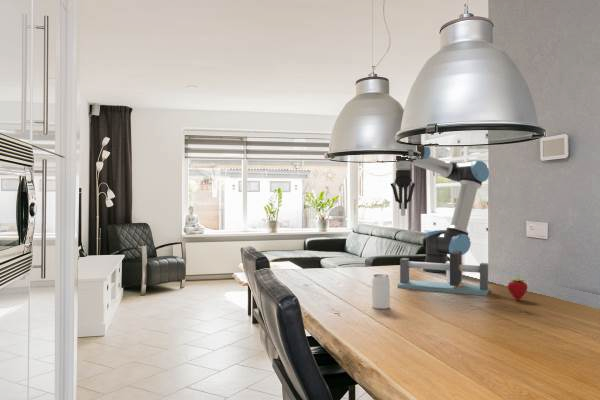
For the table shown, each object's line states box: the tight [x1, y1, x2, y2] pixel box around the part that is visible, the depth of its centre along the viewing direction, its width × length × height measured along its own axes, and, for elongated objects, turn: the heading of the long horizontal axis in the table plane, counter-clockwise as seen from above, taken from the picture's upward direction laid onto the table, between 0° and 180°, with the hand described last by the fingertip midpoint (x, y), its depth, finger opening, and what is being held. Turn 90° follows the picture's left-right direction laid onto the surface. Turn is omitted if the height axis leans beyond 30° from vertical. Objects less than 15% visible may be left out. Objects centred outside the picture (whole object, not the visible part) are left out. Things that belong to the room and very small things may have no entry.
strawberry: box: [507, 274, 528, 301], centre depth 182 cm, size 6×8×10 cm
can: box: [371, 273, 391, 310], centre depth 170 cm, size 6×6×12 cm
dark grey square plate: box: [449, 250, 463, 286], centre depth 203 cm, size 3×14×14 cm, turn 152°
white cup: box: [445, 260, 464, 284], centre depth 222 cm, size 8×8×10 cm
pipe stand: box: [397, 257, 490, 296], centre depth 206 cm, size 38×14×12 cm, turn 62°
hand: (403, 215), depth 232 cm, fingers closed
